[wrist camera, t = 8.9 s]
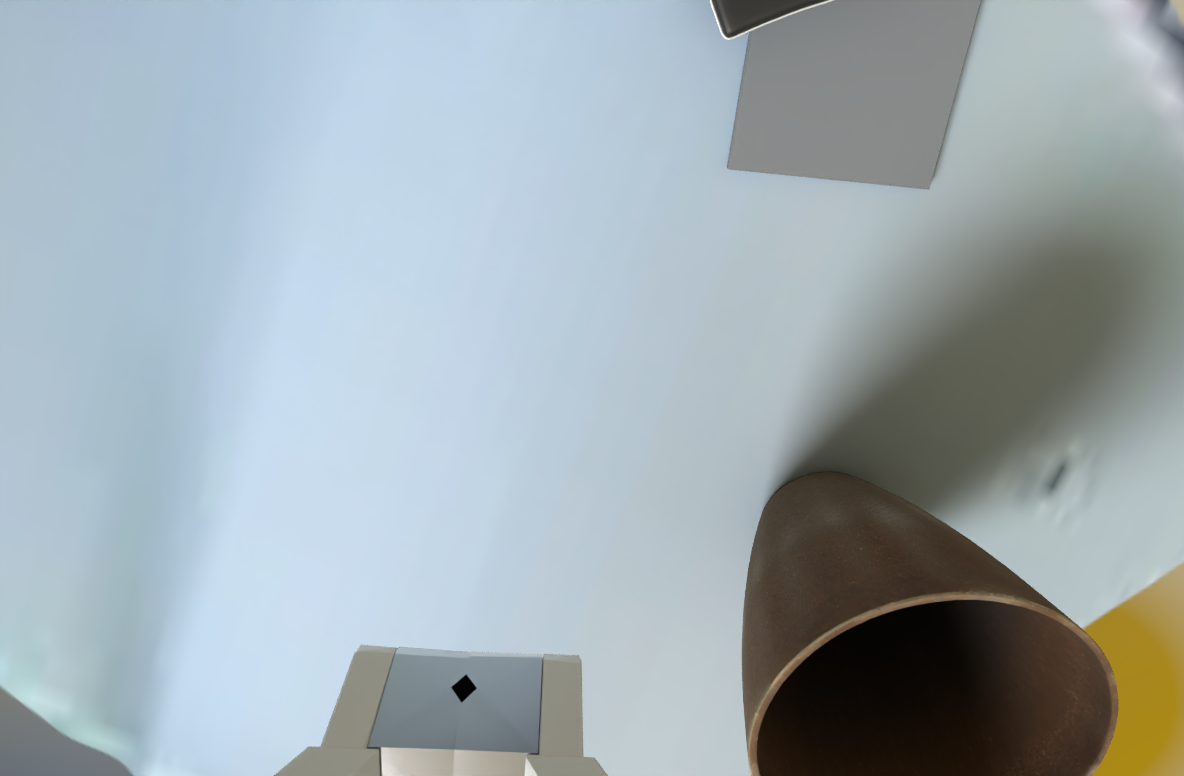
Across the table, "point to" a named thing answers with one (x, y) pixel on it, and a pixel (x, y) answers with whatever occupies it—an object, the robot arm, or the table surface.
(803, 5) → the battery charger
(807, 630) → the plant pot
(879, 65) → the mat
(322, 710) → the table surface
